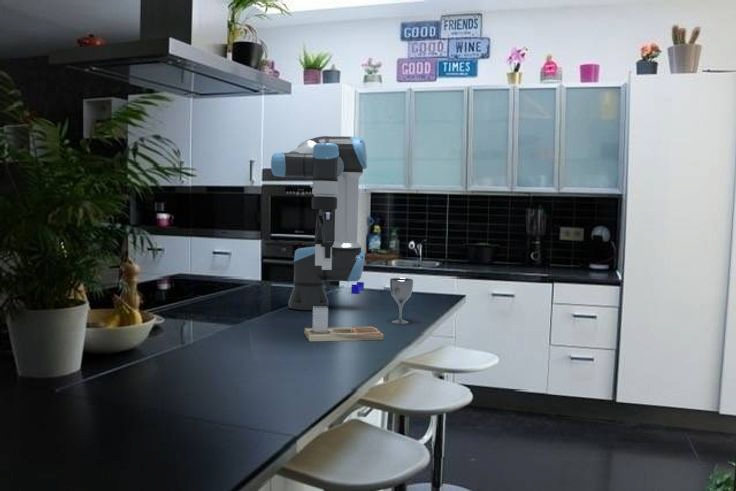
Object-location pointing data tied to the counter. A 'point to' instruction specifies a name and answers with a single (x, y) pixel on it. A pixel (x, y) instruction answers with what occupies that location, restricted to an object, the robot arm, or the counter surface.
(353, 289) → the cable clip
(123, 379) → the counter surface
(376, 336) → the hole rail
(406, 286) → the wine glass
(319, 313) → the steel peg
